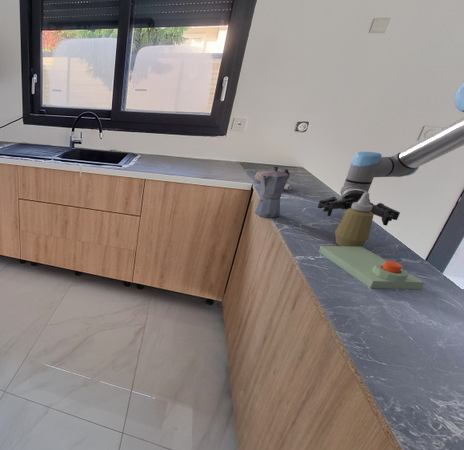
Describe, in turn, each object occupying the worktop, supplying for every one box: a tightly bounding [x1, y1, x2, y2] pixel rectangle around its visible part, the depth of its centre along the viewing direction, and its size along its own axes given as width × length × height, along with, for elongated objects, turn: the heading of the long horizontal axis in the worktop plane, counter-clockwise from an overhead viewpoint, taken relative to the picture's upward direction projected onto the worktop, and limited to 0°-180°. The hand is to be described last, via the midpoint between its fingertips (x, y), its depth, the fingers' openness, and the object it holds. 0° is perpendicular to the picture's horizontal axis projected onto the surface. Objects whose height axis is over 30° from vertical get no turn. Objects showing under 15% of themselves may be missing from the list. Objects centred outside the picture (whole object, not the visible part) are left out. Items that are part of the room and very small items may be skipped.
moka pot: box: [254, 166, 291, 219], centre depth 125 cm, size 10×15×20 cm, turn 117°
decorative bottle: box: [254, 169, 295, 191], centre depth 162 cm, size 26×8×7 cm, turn 0°
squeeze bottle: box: [334, 192, 374, 247], centre depth 98 cm, size 8×8×18 cm
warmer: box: [318, 245, 425, 290], centre depth 88 cm, size 12×20×4 cm, turn 175°
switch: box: [382, 260, 403, 273], centre depth 80 cm, size 3×3×2 cm
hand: (357, 216), depth 99 cm, fingers open, 13 cm apart
